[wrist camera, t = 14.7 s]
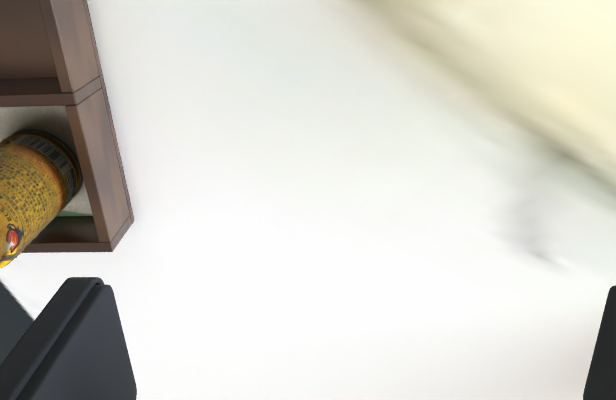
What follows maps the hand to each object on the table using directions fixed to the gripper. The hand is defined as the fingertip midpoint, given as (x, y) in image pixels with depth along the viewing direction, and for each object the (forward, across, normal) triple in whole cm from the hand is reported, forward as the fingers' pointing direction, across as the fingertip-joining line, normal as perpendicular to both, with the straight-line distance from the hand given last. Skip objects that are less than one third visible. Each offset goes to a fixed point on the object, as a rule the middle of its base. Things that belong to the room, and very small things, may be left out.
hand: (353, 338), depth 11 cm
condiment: (+28, +22, +7) cm, 36 cm away
